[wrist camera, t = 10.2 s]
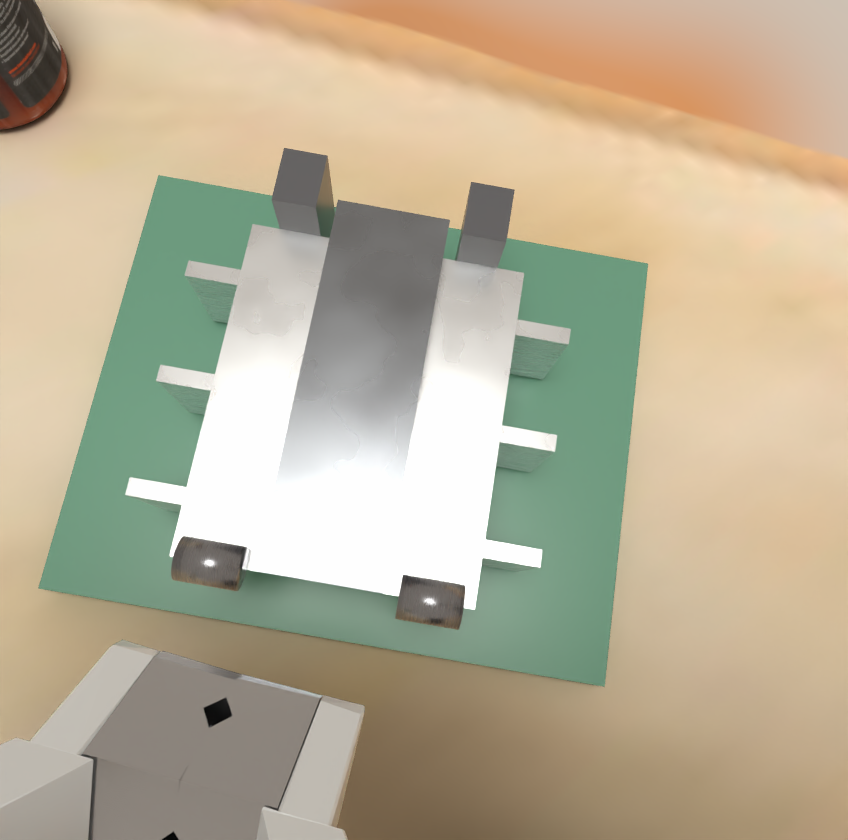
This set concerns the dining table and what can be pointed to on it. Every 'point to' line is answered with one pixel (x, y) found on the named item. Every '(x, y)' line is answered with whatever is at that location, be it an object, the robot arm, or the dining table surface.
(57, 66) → the supplement bottle
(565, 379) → the circuit board
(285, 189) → the posts
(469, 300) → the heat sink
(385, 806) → the dining table surface
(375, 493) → the steel strap
